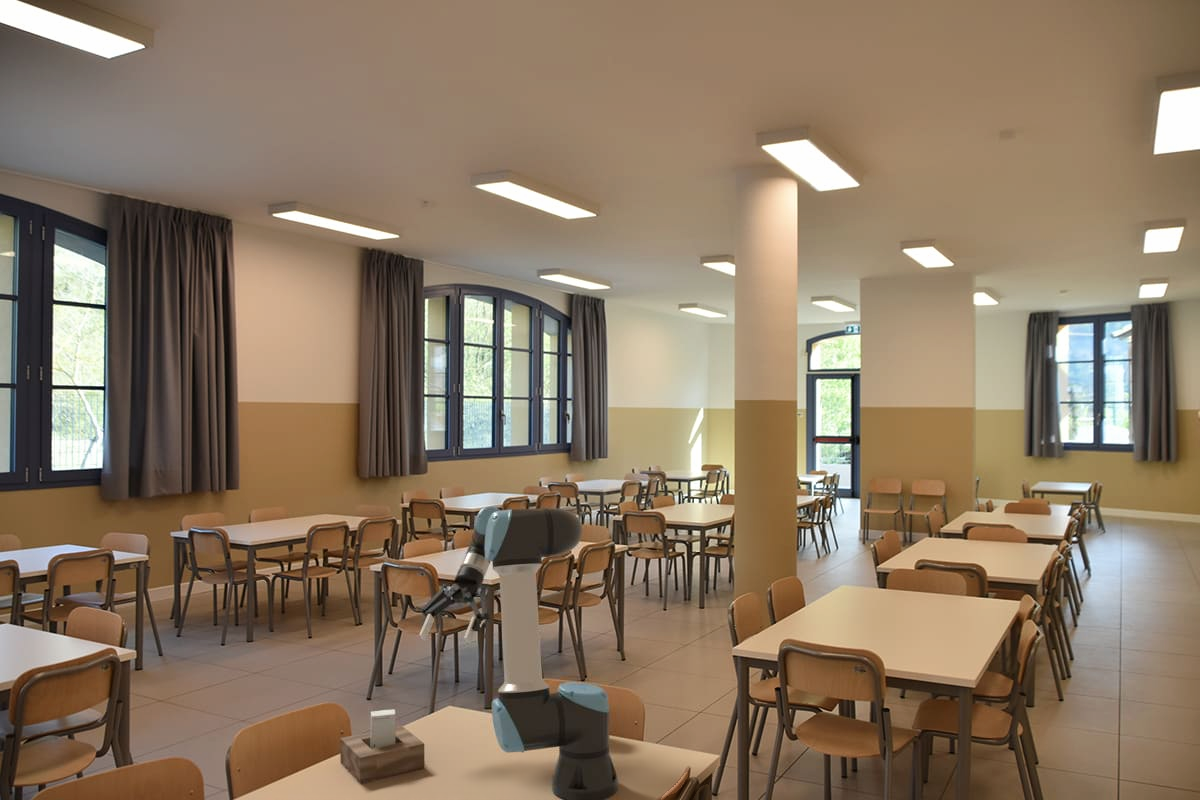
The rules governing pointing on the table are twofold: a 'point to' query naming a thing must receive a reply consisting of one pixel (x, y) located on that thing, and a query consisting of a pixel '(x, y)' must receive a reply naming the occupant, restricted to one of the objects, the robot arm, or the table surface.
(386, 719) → the skincare box
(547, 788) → the table surface
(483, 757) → the table surface
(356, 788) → the table surface
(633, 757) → the table surface
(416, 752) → the holder block
